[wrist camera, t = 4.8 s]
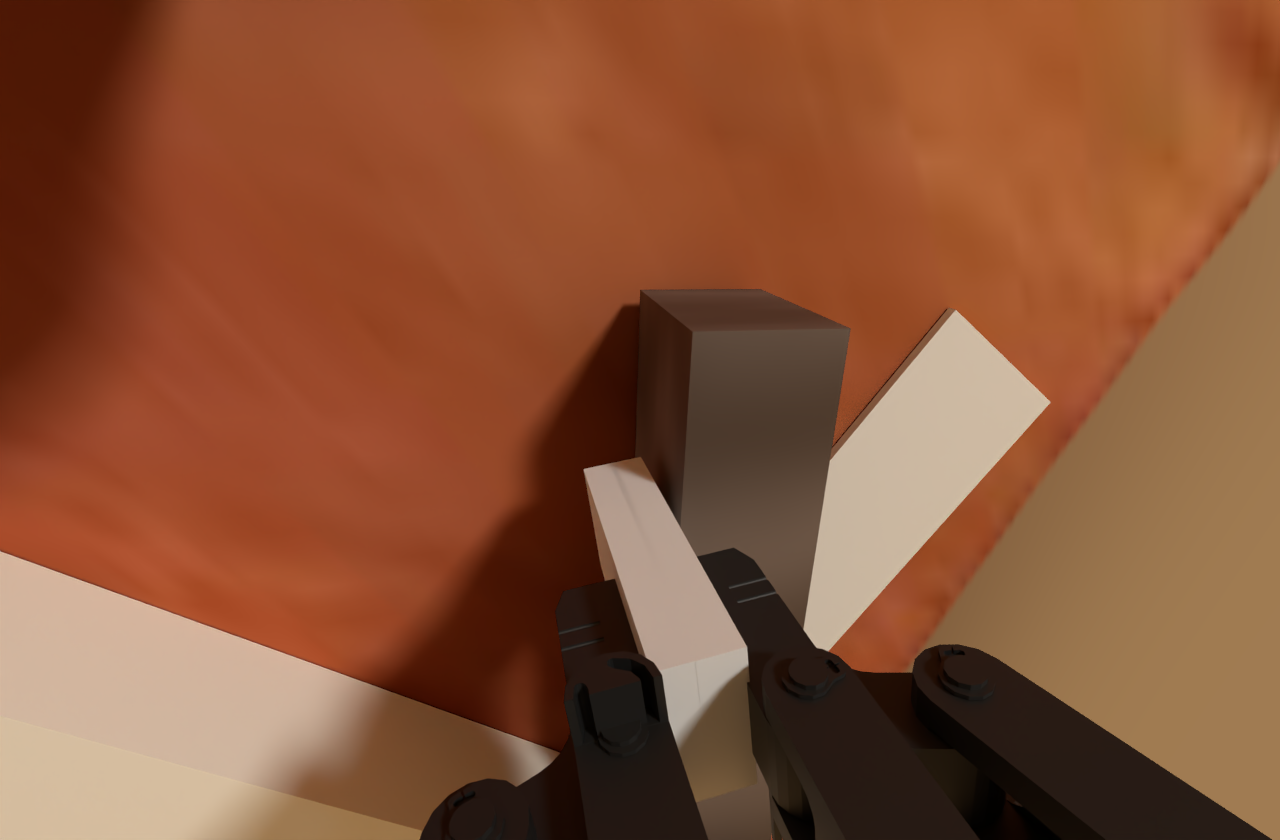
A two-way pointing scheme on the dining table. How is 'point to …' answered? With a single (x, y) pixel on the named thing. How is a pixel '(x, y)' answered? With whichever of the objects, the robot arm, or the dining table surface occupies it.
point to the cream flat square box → (209, 731)
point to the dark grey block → (741, 448)
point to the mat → (911, 466)
